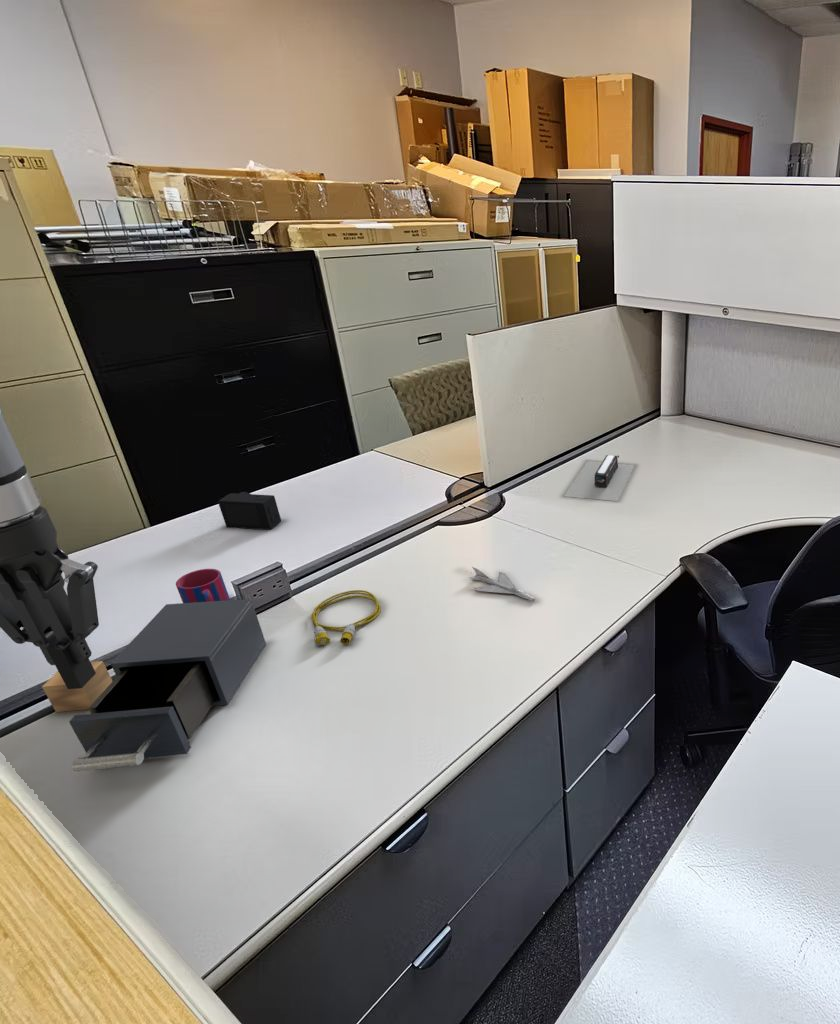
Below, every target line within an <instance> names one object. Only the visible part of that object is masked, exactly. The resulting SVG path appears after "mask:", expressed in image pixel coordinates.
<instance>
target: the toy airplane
mask: <svg viewBox="0 0 840 1024" xmlns="http://www.w3.org/2000/svg"><path fill="white" fill-rule="evenodd" d="M471 568H472V570H474V572H475V575H474V576H469V577H468V578H469V579H470V580H473V581H483V582H485V583H487V584H489V585H485V586H484V585H483V586H476V587H473V589H474V590H475V591H477V592H486V593H487V592H489V593H498V594H513V595H515V596H517V597H520V598H521V599H525V600H528V601H533V602H535V601H536V598H534V597H533V596H532V595H530V594H528V593H526V592H523V591H522V590H520V589H519V588H517V587H516V585H515V584H514V583H513V582H512V580H511V579H510V577H508V575H507V574H506V573H505V572H501V571H498V577H497V580H495V579H492V578H491V577H489V576H488V575H486V574H485V573H484V572H482V571H481V570H480V569H478V568H476V567H474V566H471ZM465 572H467V570H466V571H465ZM471 574H472V572H470V575H471Z"/></svg>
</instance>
